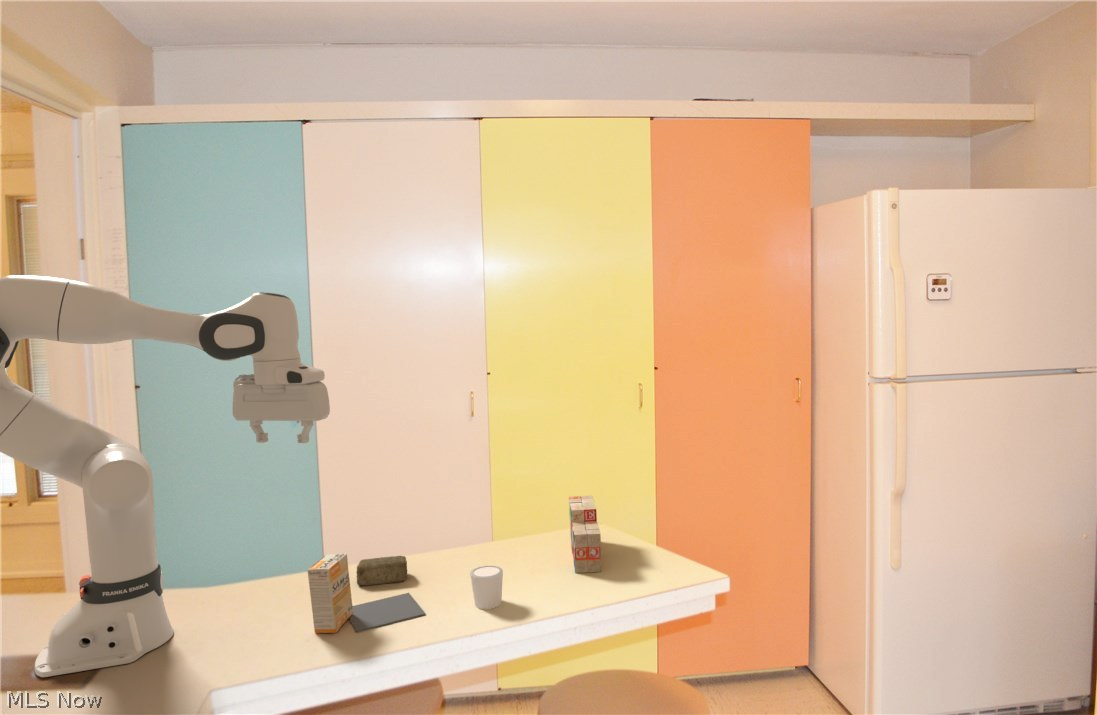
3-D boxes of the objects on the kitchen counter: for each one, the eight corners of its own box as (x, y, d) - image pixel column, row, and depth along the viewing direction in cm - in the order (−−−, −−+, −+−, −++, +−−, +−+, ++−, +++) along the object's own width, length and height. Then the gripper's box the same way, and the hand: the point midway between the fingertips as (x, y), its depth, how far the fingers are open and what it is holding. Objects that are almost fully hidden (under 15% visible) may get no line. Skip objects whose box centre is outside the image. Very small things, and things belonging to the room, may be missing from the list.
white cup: (467, 601, 149) (465, 569, 148) (496, 593, 152) (495, 562, 151) (479, 613, 143) (477, 580, 142) (509, 605, 146) (508, 573, 145)
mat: (356, 632, 137) (356, 630, 137) (344, 609, 147) (344, 608, 147) (425, 614, 143) (425, 613, 143) (408, 593, 154) (408, 592, 154)
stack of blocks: (602, 572, 161) (600, 520, 160) (574, 574, 161) (572, 521, 160) (594, 540, 183) (592, 494, 182) (570, 541, 183) (568, 495, 181)
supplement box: (336, 633, 136) (329, 569, 135) (313, 633, 137) (306, 569, 136) (354, 613, 144) (347, 552, 143) (333, 613, 145) (325, 553, 144)
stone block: (407, 582, 160) (406, 561, 160) (356, 589, 158) (354, 567, 158) (408, 573, 166) (406, 552, 166) (358, 579, 164) (356, 558, 164)
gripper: (222, 376, 139) (227, 445, 140) (313, 374, 133) (318, 446, 135) (243, 372, 145) (248, 438, 146) (331, 371, 140) (336, 439, 141)
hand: (282, 442), depth 140 cm, fingers open, 8 cm apart
